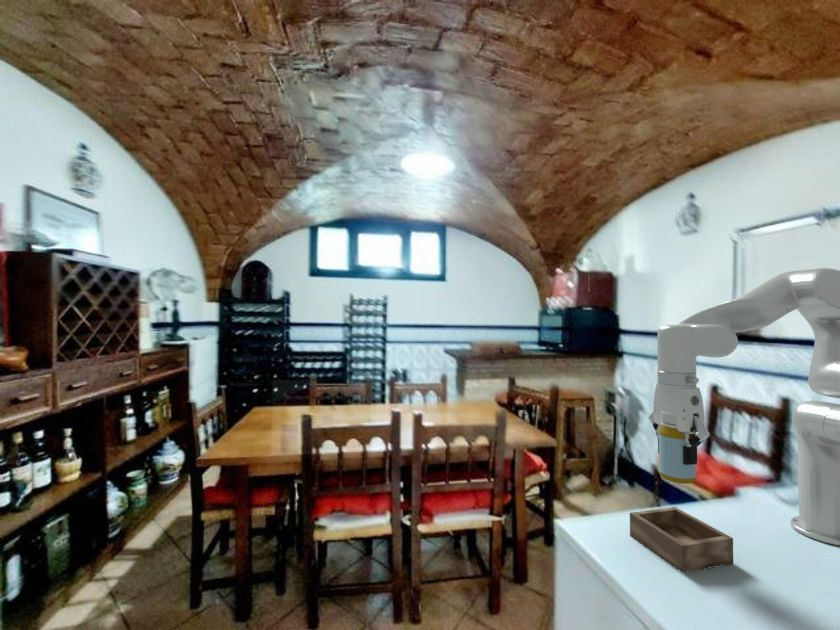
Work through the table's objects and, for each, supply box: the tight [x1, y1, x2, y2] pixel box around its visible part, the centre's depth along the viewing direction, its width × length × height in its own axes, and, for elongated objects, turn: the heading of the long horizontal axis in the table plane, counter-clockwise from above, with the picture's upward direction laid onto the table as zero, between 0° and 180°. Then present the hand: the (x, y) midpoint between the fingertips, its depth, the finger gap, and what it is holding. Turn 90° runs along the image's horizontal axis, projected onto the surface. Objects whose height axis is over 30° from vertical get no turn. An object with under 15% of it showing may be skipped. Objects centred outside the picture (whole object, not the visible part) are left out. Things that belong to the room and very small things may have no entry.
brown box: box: [629, 506, 734, 573], centre depth 94 cm, size 13×15×6 cm
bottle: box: [658, 411, 697, 485], centre depth 94 cm, size 7×7×15 cm
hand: (677, 458), depth 94 cm, fingers closed on bottle, 6 cm apart
